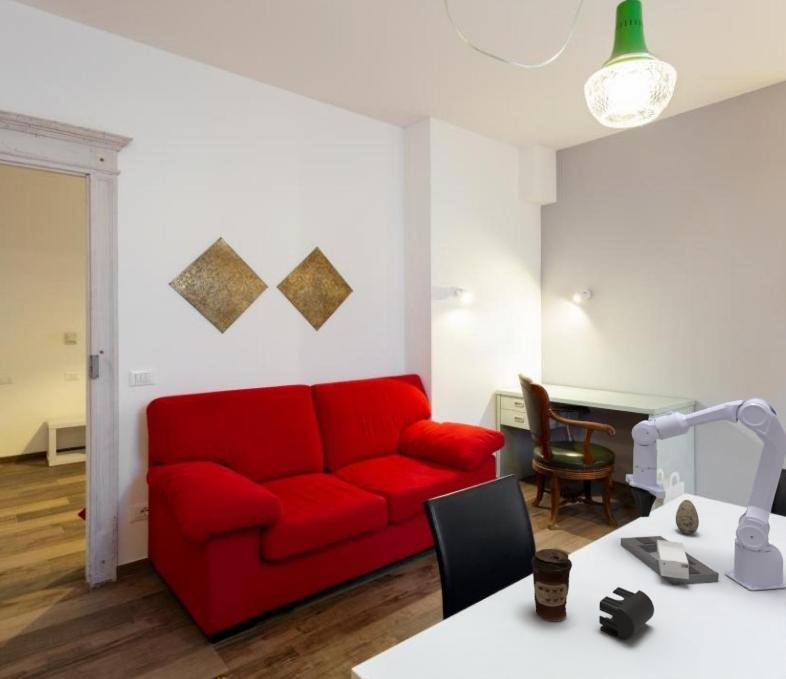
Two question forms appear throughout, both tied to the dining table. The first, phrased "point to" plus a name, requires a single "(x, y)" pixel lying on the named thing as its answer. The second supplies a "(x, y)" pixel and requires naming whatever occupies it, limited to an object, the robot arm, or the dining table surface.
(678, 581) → the plate
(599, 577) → the dining table surface
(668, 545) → the skincare box
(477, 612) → the dining table surface
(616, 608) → the end cap
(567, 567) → the coffee cup
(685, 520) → the decorative egg
